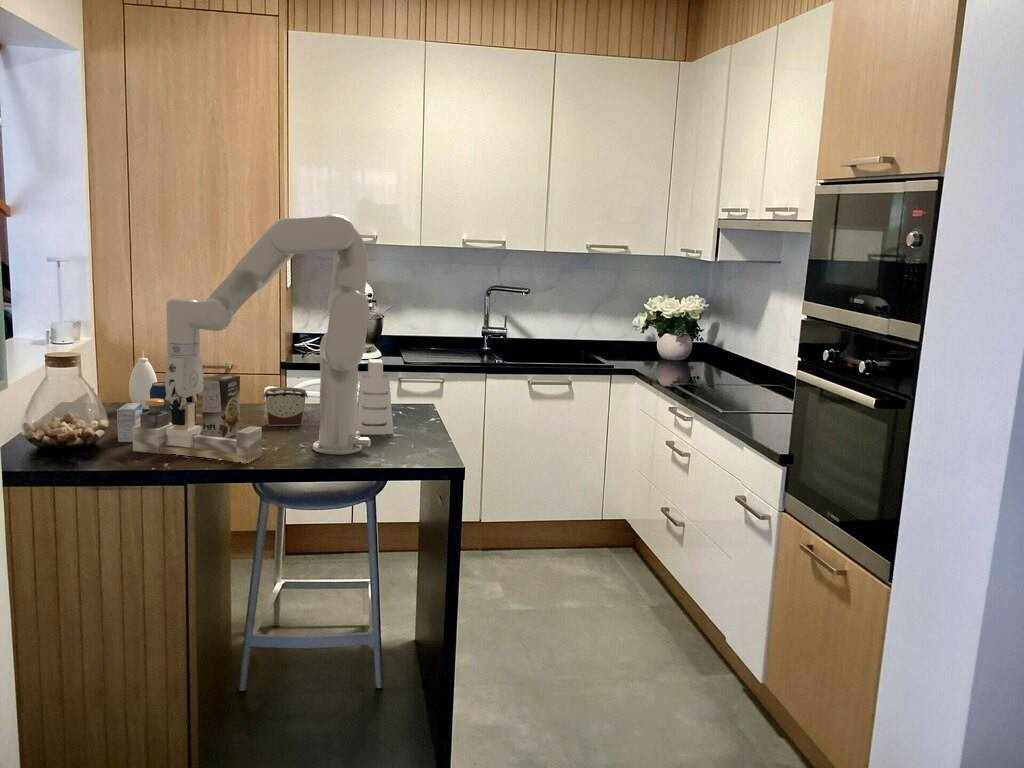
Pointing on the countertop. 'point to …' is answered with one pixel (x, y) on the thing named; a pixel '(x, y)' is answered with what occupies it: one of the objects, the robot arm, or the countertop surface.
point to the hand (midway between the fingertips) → (184, 422)
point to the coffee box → (221, 406)
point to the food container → (285, 405)
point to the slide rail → (196, 441)
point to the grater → (374, 401)
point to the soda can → (161, 397)
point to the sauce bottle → (141, 381)
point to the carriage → (184, 428)
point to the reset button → (154, 405)
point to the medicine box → (128, 420)
